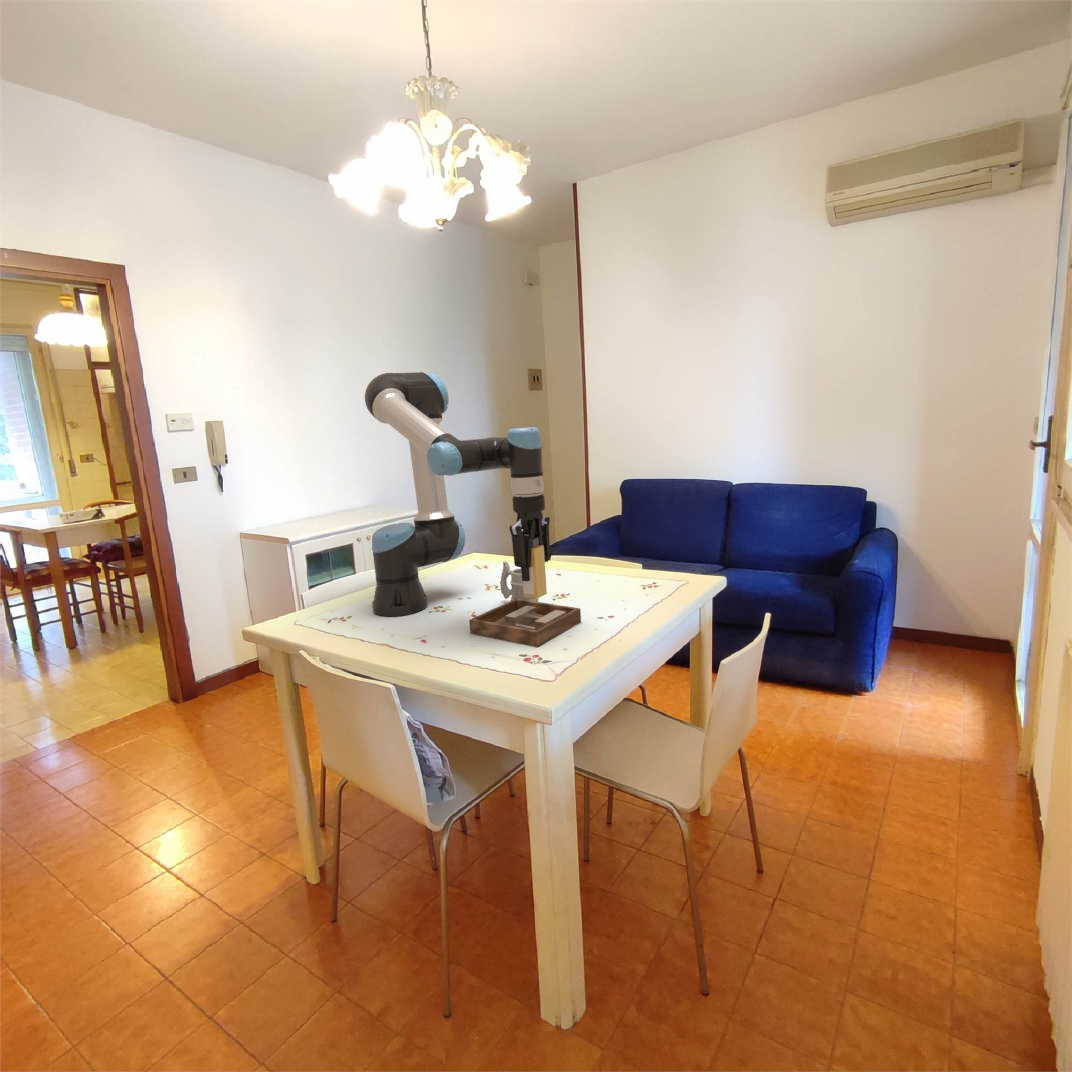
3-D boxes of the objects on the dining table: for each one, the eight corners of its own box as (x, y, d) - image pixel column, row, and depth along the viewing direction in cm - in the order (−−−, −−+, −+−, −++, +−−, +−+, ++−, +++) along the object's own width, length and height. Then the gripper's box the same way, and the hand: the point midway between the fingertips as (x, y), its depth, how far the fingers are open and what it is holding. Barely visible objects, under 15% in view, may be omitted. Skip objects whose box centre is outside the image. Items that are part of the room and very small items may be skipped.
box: (470, 633, 152) (469, 619, 151) (516, 611, 167) (516, 598, 166) (537, 647, 140) (536, 632, 140) (581, 621, 156) (580, 608, 155)
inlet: (505, 629, 152) (504, 615, 151) (527, 618, 159) (526, 605, 158) (545, 636, 145) (545, 622, 144) (566, 625, 152) (565, 611, 151)
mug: (528, 611, 166) (525, 567, 164) (493, 605, 173) (490, 563, 171) (544, 603, 172) (541, 561, 170) (510, 598, 179) (507, 557, 177)
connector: (523, 596, 150) (519, 539, 147) (533, 592, 153) (529, 536, 150) (537, 598, 147) (533, 540, 145) (546, 593, 150) (543, 537, 148)
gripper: (519, 500, 137) (526, 602, 141) (561, 489, 150) (566, 583, 155) (492, 499, 141) (500, 598, 145) (535, 489, 154) (542, 580, 159)
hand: (534, 590), depth 150 cm, fingers closed on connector, 4 cm apart
